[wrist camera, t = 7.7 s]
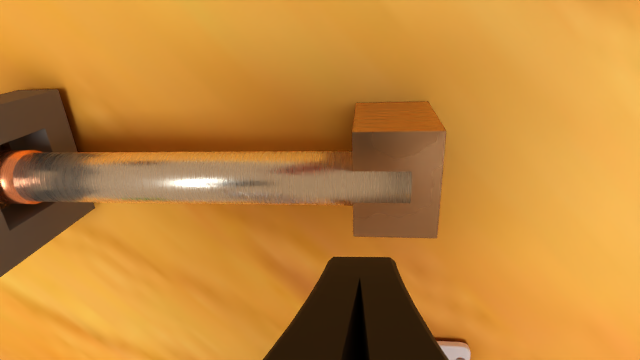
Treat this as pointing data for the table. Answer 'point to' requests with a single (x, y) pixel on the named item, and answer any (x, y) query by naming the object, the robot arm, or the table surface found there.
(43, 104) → the collar
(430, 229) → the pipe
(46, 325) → the table surface
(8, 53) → the table surface
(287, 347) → the robot arm
